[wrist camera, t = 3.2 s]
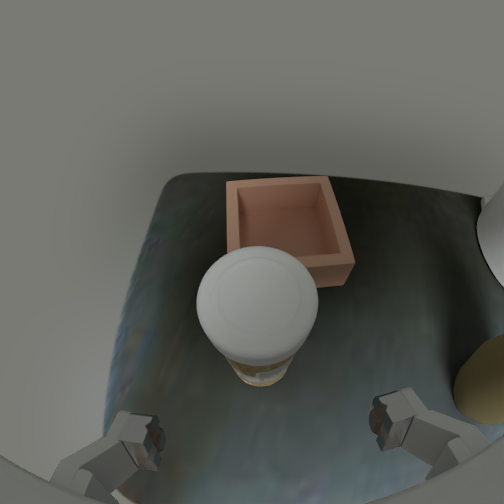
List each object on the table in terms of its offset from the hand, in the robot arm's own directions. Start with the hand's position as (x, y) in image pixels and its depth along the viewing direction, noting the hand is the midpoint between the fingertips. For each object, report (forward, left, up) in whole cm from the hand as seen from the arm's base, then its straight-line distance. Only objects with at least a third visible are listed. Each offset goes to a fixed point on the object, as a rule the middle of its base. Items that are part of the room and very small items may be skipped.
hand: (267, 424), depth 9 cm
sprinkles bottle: (0, -5, -12) cm, 13 cm away
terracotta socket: (-3, -16, -12) cm, 20 cm away
